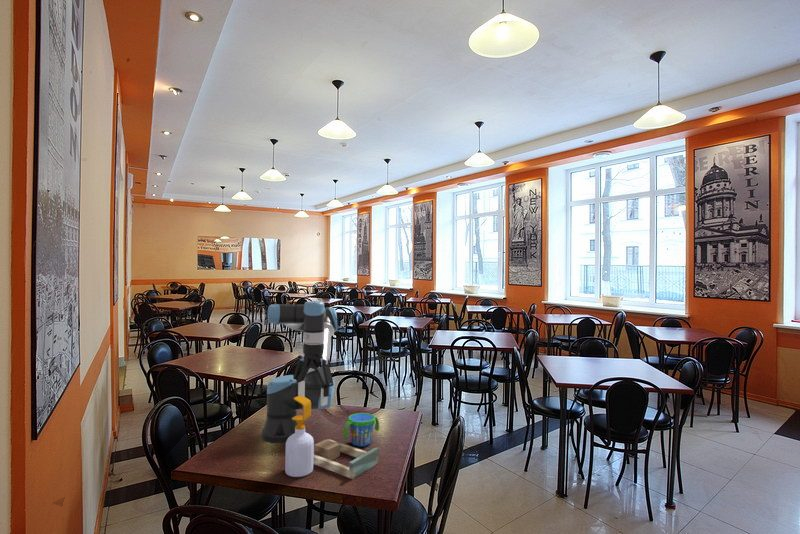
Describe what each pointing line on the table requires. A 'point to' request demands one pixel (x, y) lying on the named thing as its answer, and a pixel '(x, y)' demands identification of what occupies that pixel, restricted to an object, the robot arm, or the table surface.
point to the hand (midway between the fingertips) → (312, 402)
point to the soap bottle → (300, 444)
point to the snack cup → (361, 428)
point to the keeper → (327, 449)
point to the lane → (355, 467)
